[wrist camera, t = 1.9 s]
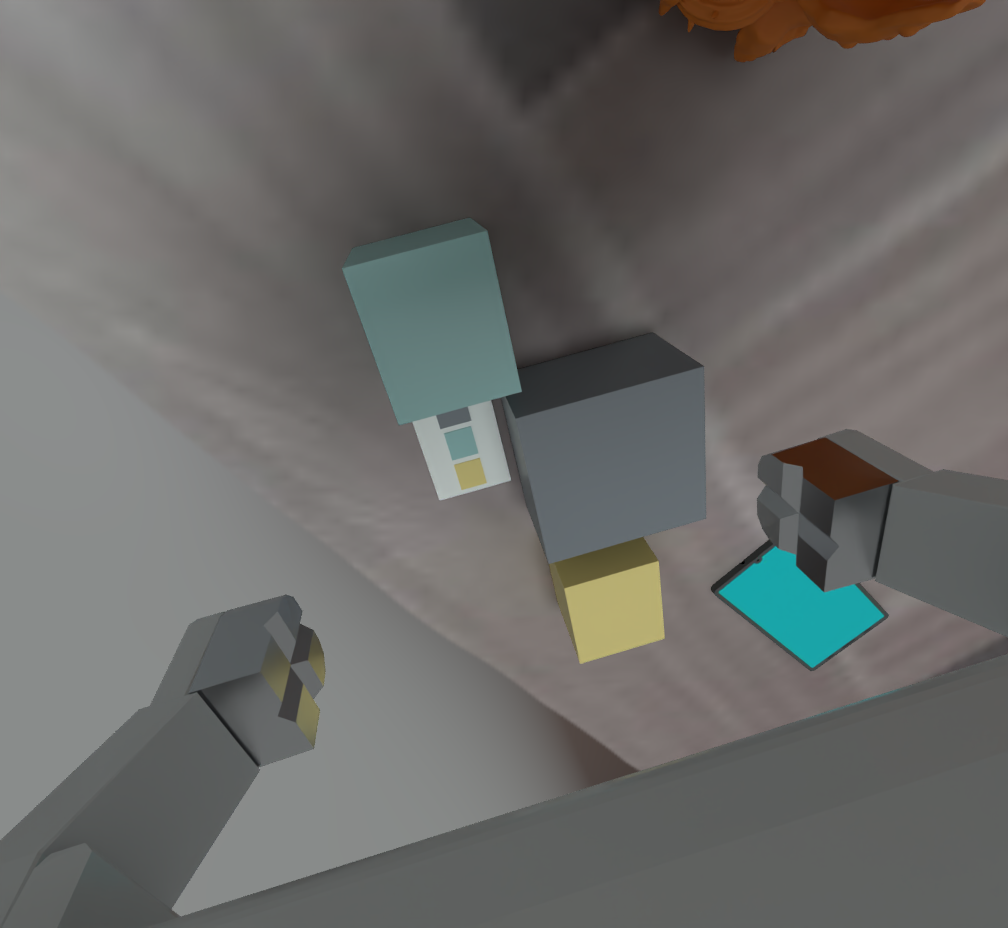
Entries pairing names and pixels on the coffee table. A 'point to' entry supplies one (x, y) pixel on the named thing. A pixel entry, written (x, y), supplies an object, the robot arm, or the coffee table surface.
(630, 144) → the coffee table surface
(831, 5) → the orange figurine
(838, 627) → the smartphone
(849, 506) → the robot arm
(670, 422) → the tower base
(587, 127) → the coffee table surface
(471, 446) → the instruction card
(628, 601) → the brick mustard
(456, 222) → the brick teal
